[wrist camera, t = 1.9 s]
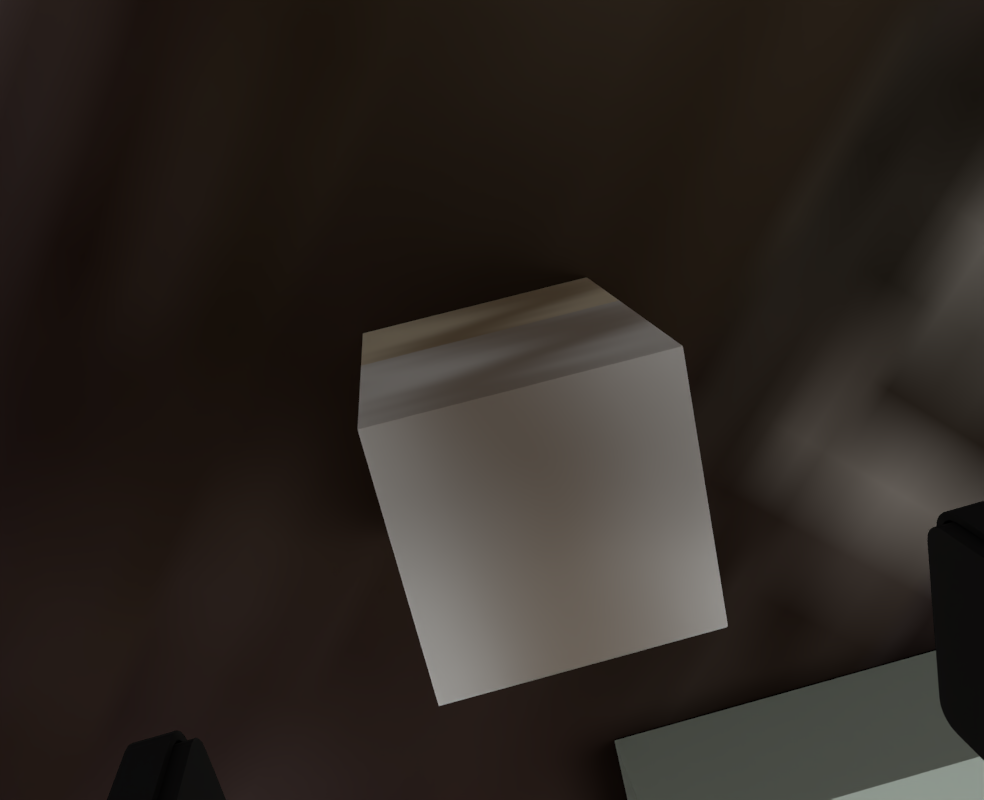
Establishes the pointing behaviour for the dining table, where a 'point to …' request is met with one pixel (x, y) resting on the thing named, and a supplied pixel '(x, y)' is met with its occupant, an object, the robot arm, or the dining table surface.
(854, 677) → the dock
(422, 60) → the dining table surface
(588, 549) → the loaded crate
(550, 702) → the dining table surface
